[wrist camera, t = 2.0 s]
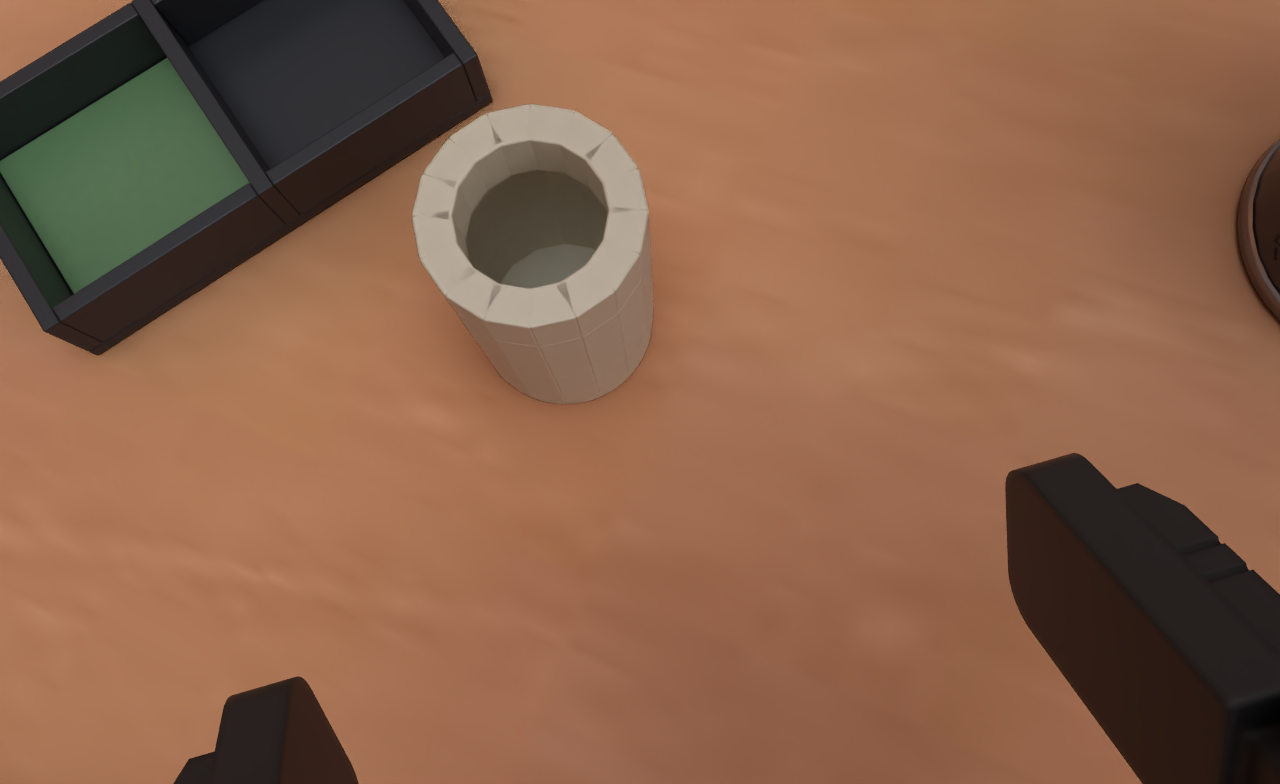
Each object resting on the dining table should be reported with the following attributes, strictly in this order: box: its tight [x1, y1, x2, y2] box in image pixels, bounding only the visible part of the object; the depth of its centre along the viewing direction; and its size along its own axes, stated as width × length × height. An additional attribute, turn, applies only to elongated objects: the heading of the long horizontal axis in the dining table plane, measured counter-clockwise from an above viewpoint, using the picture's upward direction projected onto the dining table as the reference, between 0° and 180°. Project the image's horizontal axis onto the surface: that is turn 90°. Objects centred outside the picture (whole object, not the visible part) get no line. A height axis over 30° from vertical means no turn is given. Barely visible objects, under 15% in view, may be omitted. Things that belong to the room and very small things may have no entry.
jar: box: [412, 104, 654, 404], centre depth 33 cm, size 6×6×10 cm
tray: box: [0, 0, 493, 355], centre depth 38 cm, size 17×9×3 cm, turn 125°
